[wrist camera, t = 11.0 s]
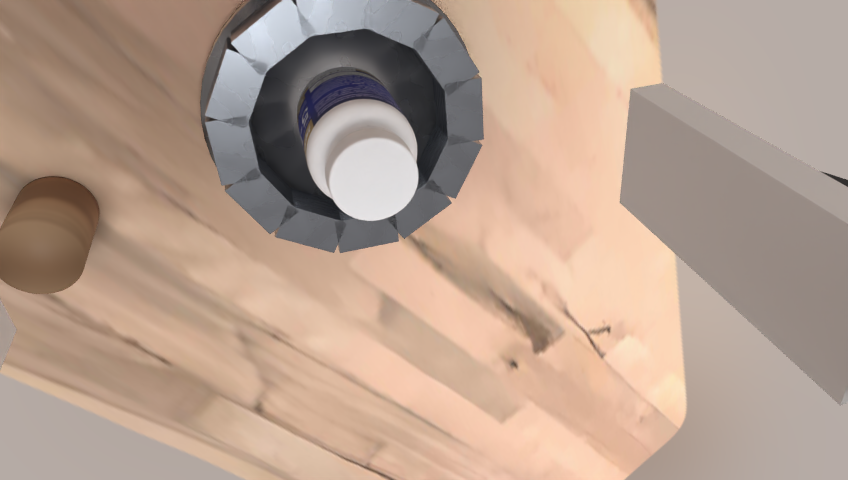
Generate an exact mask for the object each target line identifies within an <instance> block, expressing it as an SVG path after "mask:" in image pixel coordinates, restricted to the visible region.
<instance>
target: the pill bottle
mask: <svg viewBox="0 0 848 480" xmlns="http://www.w3.org/2000/svg"><path fill="white" fill-rule="evenodd" d="M297 124H298V129H299V133H300V136H301V140H302V144H303V148H304V152H305V157H306V161H307V165H308V168H309V171H310V174H311V176H312V178H313V180H314V182H315V183H316V185H317V186H318V187H319V189H320V190H321V191H322V192H323V193H324V194H326V195H327V196H328V197H330V198H331V199H333V201H334V202H335V204H336V205H337V206H338V207H339V208H340V209H341V210H342V211H343V212H344V213H346V214H347V215H349V216H351V217H353V218H356V219H359V220H365V221H376V220H381V219H385V218H388V217H390V216H393V215H394V214H396V213H398V212H399V211H401V210H402V209H403V208H404V207H405V206H406V205H407V204H408V203H409V202H410V200H411V199H412V197H413V196H414V193H415V191H416V188H417V185H418V167H417V163H416V161H417V142H416V137H415V134H414V132H413V129H412V127H411V125H410V124H409V122H408V120H407V118H406V117H405V115H404V114H403V112H402V111H401V109H400V108H399V106H398V105H397V104H396V102H395V101H394V99H393V97H392V96H391V94H390V93H389V91H388V90H387V88H386V87H385V86H384V84H383V83H382V82H381V81H380V80H379V79H378V78H377V77H375V76H374V75H372V74H371V73H369V72H367V71H365V70H362V69H359V68H355V67H338V68H333V69H329V70H327V71H325V72H323V73H321V74H319V75H318V76H316V77H315V78H314V79H313V80H311V81H310V82H309V84H308V85H307V86H306V87H305V89H304V90H303V92H302V94H301V96H300V98H299V102H298V105H297Z"/></svg>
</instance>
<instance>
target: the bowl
mask: <svg viewBox="0 0 848 480" xmlns="http://www.w3.org/2000/svg"><path fill="white" fill-rule="evenodd" d="M338 67H355V68H359V69H362V70H365V71H367V72H369V73H371V74H372V75H374V76H375V77H377V78H378V79H379V80H380V81H381V82H382V83H383V84H384V86H385V87H386V88H387V90H388V91H389V93H390V94H391V96H392V97H393V99H394V101H395V102H396V104H397V105H398V106H399V108H400V109H401V111H402V112H403V114H404V115H405V117H406V118H407V120H408V122H409V124H410V125H411V127H412V129H413V132H414V134H415V137H416V142H417V161H416V163H417V167H418V185H417V188H416V191H415V193H414V196H413V197H412V199H411V200H410V202H409V203H408V204H407V205H406V206H405V207H404V208H403V209H402V210H401V211H399V212H398V213H396V214H394V215H393V216H390V217H388V218H385V219H381V220H376V221H365V220H359V219H356V218H353V217H351V216H349V215H347V214H346V213H344V212H343V211H342V210H341V209H340V208H339V207H338V206H337V205H336V204H335V202H334V201H333V199H331V198H330V197H328V196H327V195H326V194H324V193H323V192H322V191H321V190H320V189H319V187H318V186H317V185H316V183H315V182H314V180H313V178H312V176H311V174H310V171H309V168H308V165H307V161H306V157H305V152H304V148H303V144H302V140H301V136H300V133H299V129H298V124H297V105H298V102H299V98H300V96H301V94H302V92H303V90H304V89H305V87H306V86H307V85H308V84H309V82H310V81H311V80H313V79H314V78H315V77H316V76H318V75H319V74H321V73H323V72H325V71H327V70H329V69H333V68H338ZM478 73H479V70H478V69H477V67H476V66H475V64H474V63H473V61H472V60H471V58H470V57H469V54H468V52H467V49H466V46H465V44H464V42H463V40H462V39H461V37H460V35H459V33H458V31H457V30H456V28H455V27H454V25H453V24H452V23H451V21H450V20H449V19H448V17H447V16H446V15H445V14H444V13H443V12H442V11H441V10H440V9H439V8H438V7H437V6H436V5H435V4H434V3H433V2H432V1H431V0H246V1H245V2H244V3H243V4H242V5H241V6H240V7H239V8H238V9H237V10H236V11H235V12H234V13H233V15H232V16H231V17H230V18H229V20H228V21H227V22H226V24H225V25H224V26H223V28H222V30H221V31H220V33H219V35H218V37H217V38H216V40H215V42H214V44H213V47H212V49H211V52H210V54H209V57H208V59H207V63H206V67H205V71H204V75H203V81H202V91H201V102H200V104H201V121H202V127H203V132H204V137H205V140H206V143H207V146H208V149H209V152H210V155H211V157H212V159H213V161H214V163H215V165H216V167H217V170H218V174H219V177H220V181H221V185H225V192H226V193H228V194H229V195H230V196H231V197H232V198H233V199H234V200H235V201H236V202H237V203H238V204H239V205H240V206H241V207H242V208H243V209H244V210H245V211H246V212H247V213H248V214H250V215H251V216H252V217H253V218H254V219H255V220H256V221H257V222H258V223H259V224H260V225H261V226H262V227H263V228H264V229H265V230H266V231H267V232H268V233H269V234H271V233H272V232H273V231H275V237H277V238H281V239H284V240H288V241H292V242H296V243H299V244H303V245H307V246H310V247H314V248H318V249H322V250H325V251H329V252H333V253H334V252H335V250H336V247H337V245H338V248H339V251H340V253H343V252H348V251H353V250H358V249H363V248H368V247H373V246H378V245H383V244H388V243H393V242H398V241H399V239H398V232H399V234H400V235H401V236H402V237H403V238H404V239H405V238H406V237H407V236H409V235H410V234H411V233H413V232H414V231H415V230H417V229H418V228H419V227H421V226H422V225H423V224H425V223H426V222H427V221H429V220H430V219H431V218H433V217H434V216H435V215H437V214H438V213H439V212H441V211H442V210H443V209H445V208H446V207H447V206H449V205H450V204H451V201H450V200H449V198H448V196H449V197H452V198H455V199H456V197H457V195H458V193H459V191H460V189H461V187H462V185H463V183H464V181H465V179H466V177H467V175H468V173H469V171H470V169H471V167H472V165H473V163H474V161H475V159H476V157H477V155H478V153H479V151H480V149H481V147H482V144H481V143H480V142H479V141H478V140H482V139H484V134H483V108H482V81H481V77H480V76H479V75H477V74H478Z"/></svg>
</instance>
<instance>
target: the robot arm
mask: <svg viewBox="0 0 848 480" xmlns="http://www.w3.org/2000/svg"><path fill="white" fill-rule="evenodd" d="M620 203H621V204H622V205H623V206H624V207H625V208H626V209H627V210H628V211H629V212H631V213H632V214H633V215H634V216H635V217H636V218H637V219H638V220H639V221H640V222H641V223H643V224H644V225H645V226H646V227H647V228H648V229H649V230H650V231H651V232H652V233H653V234H654V235H656V236H657V237H658V238H659V239H660V240H661V241H662V242H663V243H664V244H665V245H666V246H667V247H669V248H670V249H671V250H672V251H673V252H674V253H675V254H676V255H677V256H678V257H679V258H681V259H682V260H683V261H684V262H685V263H686V264H687V265H688V266H689V267H690V268H691V269H693V270H694V271H695V272H696V273H697V274H698V275H699V276H700V277H701V278H702V279H703V280H705V281H706V282H707V283H708V284H709V285H710V286H711V287H712V288H713V289H714V290H715V291H716V292H718V293H719V294H720V295H721V296H722V297H723V298H724V299H725V300H726V301H727V302H728V303H729V304H730V305H732V306H733V307H734V308H735V309H736V310H737V311H738V312H739V313H740V314H741V315H743V316H744V317H745V318H746V319H747V320H748V321H749V322H750V323H751V324H752V325H753V326H754V327H756V328H757V329H758V330H759V331H760V332H761V333H762V334H763V335H764V336H765V337H766V338H768V339H769V340H770V341H771V342H772V343H773V344H774V345H775V346H776V347H777V348H778V349H779V350H781V351H782V352H783V353H784V354H785V355H786V356H787V357H788V358H789V359H790V360H791V361H793V362H794V363H795V364H796V365H797V366H798V367H799V368H800V369H801V370H802V371H803V372H804V373H806V374H807V375H808V376H809V377H810V378H811V379H812V380H813V381H814V382H815V383H816V384H817V385H818V386H820V387H821V388H822V389H823V390H824V391H825V392H826V393H827V394H828V395H829V396H830V397H832V398H833V399H834V400H835V401H836V402H837V403H838V404H839V405H843V404H846V403H848V180H846V179H843V178H840V177H836V176H833V175H831V174H827V173H824V172H821V171H818V170H817V169H815V168H813V167H811V166H810V165H808V164H806V163H804V162H802V161H801V160H799V159H797V158H795V157H794V156H791V155H790V154H788V153H786V152H784V151H783V150H781V149H779V148H777V147H776V146H774V145H772V144H770V143H769V142H767V141H765V140H763V139H762V138H760V137H758V136H756V135H754V134H753V133H751V132H749V131H747V130H746V129H744V128H742V127H740V126H739V125H737V124H735V123H733V122H731V121H730V120H728V119H726V118H724V117H723V116H721V115H719V114H717V113H715V112H714V111H712V110H710V109H708V108H707V107H705V106H703V105H701V104H699V103H698V102H696V101H694V100H692V99H691V98H689V97H687V96H685V95H683V94H682V93H680V92H678V91H676V90H675V89H673V88H671V87H669V86H667V85H666V84H664V83H661V84H656V85H650V86H645V87H639V88H633V89H631V91H630V101H629V111H628V122H627V132H626V142H625V153H624V163H623V174H622V184H621V194H620ZM16 330H17V329H16V327H15V326H14V324H13V322H12V320H11V318H10V316H9V314H8V312H7V311H6V309H5V307H4V305H3V303H2V301H1V299H0V370H1V367H2V365H3V362H4V360H5V357H6V355H7V352H8V350H9V347H10V345H11V342H12V340H13V338H14V335H15V333H16Z"/></svg>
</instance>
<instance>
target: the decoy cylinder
mask: <svg viewBox="0 0 848 480" xmlns="http://www.w3.org/2000/svg"><path fill="white" fill-rule="evenodd" d="M98 220H99V207H98V204H97V201H96V199H95V198H94V196H93V195H92V194H91V193H90V192H89V191H88V190H87V189H86V188H85V187H84V186H82V185H81V184H79V183H77V182H75V181H72V180H70V179H66V178H61V177H45V178H40V179H37V180H34V181H32V182H30V183H29V184H27V185H26V186H25V187H24V188H23V189H22V190H21V191H20V193H19V195H18V197H17V198H16V200H15V202H14V204H13V206H12V208H11V209H10V211H9V213H8V215H7V217H6V218H5V220H4V222H3V224H2V226H1V228H0V278H1V279H2V280H3V281H4V282H5V283H7V284H8V285H10V286H12V287H14V288H16V289H18V290H21V291H24V292H28V293H34V294H49V293H55V292H59V291H62V290H64V289H66V288H68V287H70V286H71V285H73V284H74V283H75V282H76V281H77V280H78V279H79V278H80V276H81V274H82V272H83V270H84V266H85V263H86V260H87V256H88V253H89V250H90V247H91V243H92V240H93V237H94V233H95V230H96V227H97V224H98Z"/></svg>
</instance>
